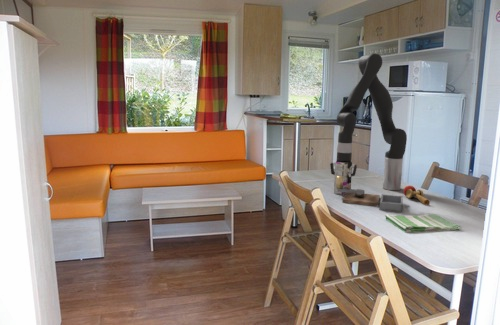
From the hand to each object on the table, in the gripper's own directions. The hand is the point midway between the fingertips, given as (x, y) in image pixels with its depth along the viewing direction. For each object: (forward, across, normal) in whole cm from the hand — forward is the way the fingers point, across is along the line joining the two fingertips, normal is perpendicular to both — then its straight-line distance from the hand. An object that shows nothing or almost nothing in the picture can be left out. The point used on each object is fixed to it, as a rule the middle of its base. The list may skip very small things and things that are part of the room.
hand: (342, 182), depth 211 cm
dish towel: (+6, -37, +40) cm, 55 cm away
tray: (+5, -25, +18) cm, 31 cm away
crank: (+3, -5, +12) cm, 14 cm away
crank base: (+5, -11, +12) cm, 17 cm away
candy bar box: (+5, 0, 0) cm, 5 cm away
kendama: (+6, -36, +1) cm, 37 cm away
